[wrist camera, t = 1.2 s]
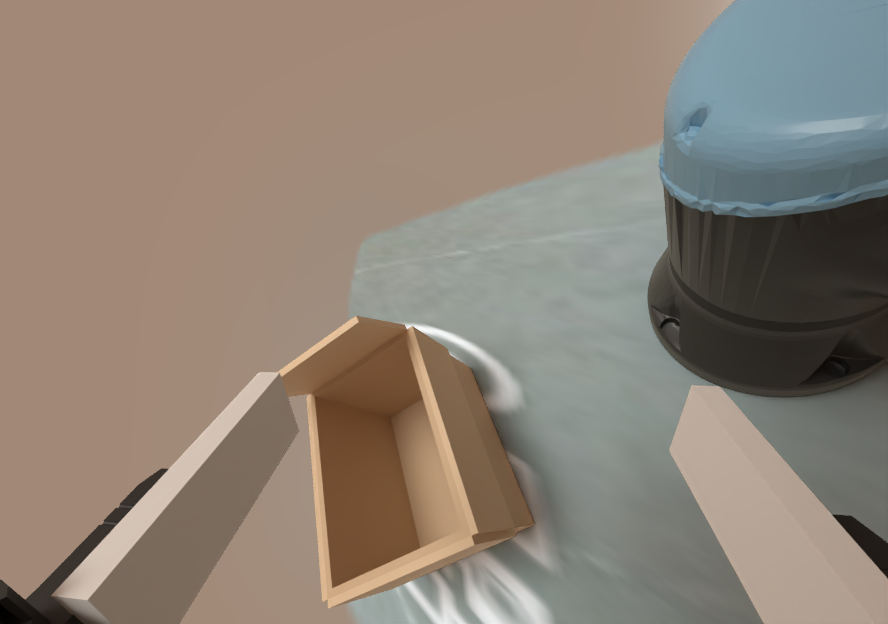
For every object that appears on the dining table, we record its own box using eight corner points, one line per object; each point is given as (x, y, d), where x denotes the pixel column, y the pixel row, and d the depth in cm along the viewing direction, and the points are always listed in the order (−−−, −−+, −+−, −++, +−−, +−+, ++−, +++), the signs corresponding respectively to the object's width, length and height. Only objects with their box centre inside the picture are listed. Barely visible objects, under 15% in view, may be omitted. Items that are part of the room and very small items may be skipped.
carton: (386, 418, 43) (306, 396, 34) (474, 365, 40) (412, 326, 31) (421, 580, 33) (323, 610, 24) (542, 528, 30) (481, 541, 21)
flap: (311, 393, 34) (309, 389, 34) (406, 329, 31) (404, 324, 31) (245, 401, 27) (244, 395, 28) (358, 322, 24) (355, 316, 25)
